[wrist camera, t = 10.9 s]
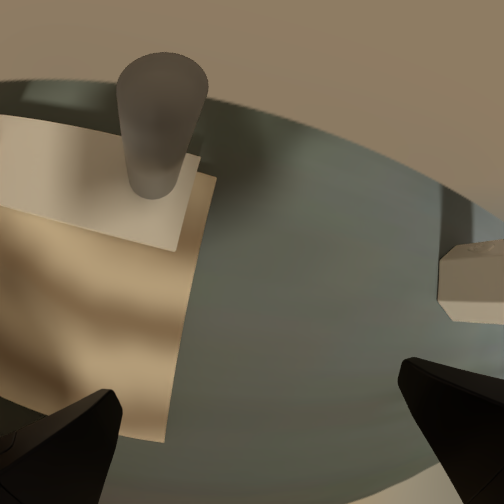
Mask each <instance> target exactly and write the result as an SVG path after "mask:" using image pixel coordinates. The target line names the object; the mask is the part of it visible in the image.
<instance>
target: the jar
mask: <svg viewBox="0 0 504 504" xmlns="http://www.w3.org/2000/svg"><path fill="white" fill-rule="evenodd" d="M437 301H438V303H439V304H440V305H441V306H442V308H443V309H444V310H445V312H446V313H447V314H448V316H449V317H450V318H451V320H452V321H460V322H473V323H487V324H503V325H504V239H501V240H493V241H486V242H478V243H470V244H462V245H456V246H455V247H454V248H453V249H452V250H450V251H449V252H448V253H447V254H446V255H445V256H444V257H443V258H442V259H440V261H439V283H438V298H437Z"/></svg>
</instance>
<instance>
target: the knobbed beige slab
mask: <svg viewBox="0 0 504 504" xmlns="http://www.w3.org/2000/svg"><path fill="white" fill-rule="evenodd" d="M207 93H208V80H207V77H206V74H205V73H204V71H203V69H202V68H201V67H200V66H199V65H198V64H197V63H196V62H194V61H193V60H191V59H190V58H188V57H185V56H183V55H180V54H176V53H167V52H165V53H164V52H160V53H153V54H149V55H145V56H143V57H141V58H138V59H137V60H135V61H133V62H132V63H131V64H129V65H128V66H127V67H126V68H125V69H124V71H123V72H122V73H121V75H120V77H119V79H118V82H117V86H116V95H117V104H118V113H119V121H120V128H121V135H122V136H119V135H114V134H110V133H105V132H101V131H96V130H91V129H86V128H81V127H76V126H71V125H66V124H60V123H55V122H49V121H43V120H37V119H30V118H24V117H17V116H9V115H1V114H0V206H3V207H7V208H10V209H14V210H17V211H21V212H25V213H28V214H32V215H35V216H39V217H43V218H46V219H50V220H54V221H57V222H61V223H65V224H68V225H72V226H76V227H79V228H83V229H87V230H91V231H95V232H98V233H102V234H106V235H110V236H114V237H117V238H121V239H125V240H129V241H133V242H137V243H141V244H145V245H149V246H152V247H156V248H160V249H164V250H168V251H172V252H175V251H176V249H177V244H178V240H179V236H180V232H181V228H182V224H183V220H184V216H185V212H186V209H187V205H188V201H189V197H190V194H191V190H192V187H193V183H194V179H195V176H196V172H197V169H198V166H199V162H200V159H201V157H199V156H196V155H192V154H189V153H186V152H187V149H188V146H189V143H190V140H191V137H192V134H193V132H194V129H195V126H196V123H197V120H198V118H199V115H200V112H201V110H202V107H203V104H204V102H205V99H206V97H207Z"/></svg>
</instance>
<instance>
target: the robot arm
mask: <svg viewBox="0 0 504 504" xmlns="http://www.w3.org/2000/svg"><path fill="white" fill-rule="evenodd" d="M398 386H399V388H400V390H401V393H402V395H403V397H404V399H405V401H406V403H407V405H408V408H409V410H410V412H411V414H412V416H413V418H414V420H415V421H416V423H417V425H418V426H419V428H420V430H421V431H422V433H423V435H424V436H425V438H426V439H427V441H428V443H429V444H430V446H431V448H432V449H433V451H434V453H435V454H436V456H437V458H438V460H439V461H440V463H441V465H442V466H443V468H444V470H445V471H446V473H447V475H448V477H449V478H450V480H451V482H452V484H453V485H454V487H455V489H456V491H457V493H458V494H459V496H460V498H461V500H462V502H463V503H464V504H504V380H503V379H499V378H494V377H490V376H486V375H482V374H477V373H473V372H469V371H465V370H461V369H457V368H454V367H450V366H446V365H442V364H438V363H435V362H431V361H427V360H424V359H420V358H417V357H411V358H408V359H405V360H403V362H402V364H401V368H400V372H399V376H398ZM122 416H123V409H122V406H121V404H120V402H119V400H118V398H117V396H116V394H115V392H114V391H113V390H112V389H100V390H98V391H96V392H94V393H92V394H90V395H88V396H86V397H84V398H82V399H81V400H79V401H77V402H75V403H73V404H71V405H69V406H67V407H65V408H63V409H61V410H59V411H57V412H55V413H53V414H51V415H49V416H47V417H45V418H43V419H41V420H39V421H37V422H34V423H32V424H30V425H28V426H26V427H24V428H22V429H20V430H18V431H17V432H16V431H14V432H12V433H10V434H8V435H6V436H3V437H1V438H0V504H98V502H99V499H100V495H101V492H102V489H103V486H104V482H105V479H106V476H107V473H108V470H109V467H110V464H111V461H112V458H113V455H114V452H115V448H116V444H117V440H118V435H119V430H120V425H121V420H122Z"/></svg>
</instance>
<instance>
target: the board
mask: <svg viewBox="0 0 504 504" xmlns="http://www.w3.org/2000/svg"><path fill="white" fill-rule="evenodd" d="M216 180H217V177H214V176H210V175H207V174H204V173H200V172H196V176H195V179H194V183H193V187H192V190H191V194H190V197H189V201H188V205H187V209H186V212H185V216H184V220H183V224H182V228H181V232H180V236H179V240H178V244H177V249H176V251H175V252H172V251H168V250H164V249H160V248H156V247H152V246H149V245H145V244H141V243H137V242H133V241H129V240H125V239H121V238H117V237H114V236H110V235H106V234H102V233H98V232H95V231H91V230H87V229H83V228H79V227H76V226H72V225H68V224H65V223H61V222H57V221H54V220H50V219H46V218H43V217H39V216H35V215H32V214H28V213H25V212H21V211H17V210H14V209H10V208H7V207H3V206H0V396H1V397H3V398H5V399H7V400H10V401H12V402H14V403H17V404H19V405H22V406H24V407H27V408H29V409H32V410H34V411H37V412H40V413H43V414H45V415H48V416H49V415H51V414H53V413H55V412H57V411H59V410H61V409H63V408H65V407H67V406H69V405H71V404H73V403H75V402H77V401H79V400H81V399H82V398H84V397H86V396H88V395H90V394H92V393H94V392H96V391H98V390H100V389H112V390H113V391H114V392H115V394H116V396H117V398H118V400H119V402H120V404H121V406H122V409H123V416H122V420H121V425H120V430H119V435H121V436H126V437H131V438H137V439H143V440H149V441H155V442H162V443H164V439H165V432H166V424H167V418H168V411H169V404H170V398H171V392H172V385H173V379H174V374H175V368H176V362H177V356H178V351H179V345H180V340H181V335H182V329H183V324H184V319H185V314H186V309H187V304H188V299H189V295H190V290H191V285H192V280H193V276H194V271H195V267H196V262H197V258H198V253H199V249H200V245H201V240H202V236H203V232H204V228H205V224H206V219H207V215H208V211H209V207H210V203H211V199H212V195H213V191H214V188H215V184H216Z"/></svg>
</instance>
